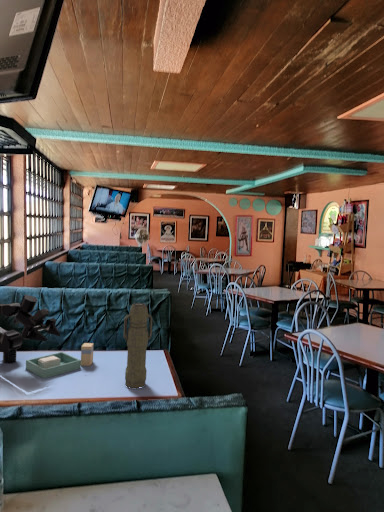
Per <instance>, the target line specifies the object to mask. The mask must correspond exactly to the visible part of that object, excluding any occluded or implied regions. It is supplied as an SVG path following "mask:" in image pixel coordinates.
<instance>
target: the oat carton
mask: <svg viewBox="0 0 384 512" xmlns="http://www.w3.org/2000/svg"><path fill="white" fill-rule="evenodd" d="M80 349H81V350H80V351H81V353H80V360H81V367H82V366H86V367H90V366H91V365H92V364H93V362H94V342H93V343H91V342H84V343H83V344H82V345H81V347H80Z"/></svg>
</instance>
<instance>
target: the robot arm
mask: <svg viewBox="0 0 384 512" xmlns="http://www.w3.org/2000/svg"><path fill="white" fill-rule="evenodd" d="M21 298H22V299H21V301H20V303H19V302H13V303H8V304H6V303H5V304H3V303H0V314H1V315H2V316H4V317H7V318H11V317H14V318H13V325H16V324H21V325H22V326H23V329H22V331H21V332H18V331H17V330H15V329H10V330H6V329H4V328H2V327H1V326H0V352H1V353H2V360H0V362H2V363H3V364H4V363H5V364H11V365H12V364H14V363H17V349H20V348H21V347H22V345H23V342H24V341H25V340H28V341H29V340H33V341H41V342H47V341H48V338H47V337H46V336H44V334H42V333H41V331H44V332H46V333H47V334H49V335H50V334H51V335H53V336H57V337H60V336H61V332H60V331H59V329H58V328H57V326H56V324H57V319H56V318H54V317H53V318H48V319H46V317H47V316H49V314H50V311H49V309H47V308H41V309H39V310H37V311H36V312H35V313H34V315H33V314H31V313H32V312H34V310H35V307H36V305H37V303H38V298H37V297H36V296H31V295H28V294H23V295H22V297H21ZM45 319H46V320H45ZM44 322H45V323H44Z"/></svg>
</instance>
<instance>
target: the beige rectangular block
mask: <svg viewBox="0 0 384 512" xmlns="http://www.w3.org/2000/svg"><path fill="white" fill-rule="evenodd" d="M58 365H60V359H59V358H57V357H55V356H50V357H46V358H41V359H39V360H38V366H40V367H42V368H44V369H47V368H51V367H55V366H58Z"/></svg>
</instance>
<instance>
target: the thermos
mask: <svg viewBox="0 0 384 512" xmlns="http://www.w3.org/2000/svg"><path fill="white" fill-rule="evenodd" d="M128 319H129V321H128ZM148 319H149V325H147V323H148ZM123 320H124V322H123V339H125V340H126V345H127V346H126V347H127V357H126V359H127V361H126V367H125V372H124V380H125V382H124V383H125V384H124V386H125V385H126V386H127V387H130V388H139V387H142V386H144V385H145V386H146V380H147V368H146V362H147V361H146V360H147V347H148V343H149V340H151V339H152V335H153V316H152V315H151V314H149V310H148V307H147V304H145V303H143V302H135V303H132V304H131V307H130V309H129V314H127V315H126V316H125V317H124V318H123ZM128 322H129V325H128ZM148 326H149V327H148ZM148 328H149V329H148ZM126 386H125V387H126ZM127 387H126V388H127ZM130 388H129V389H130Z"/></svg>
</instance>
